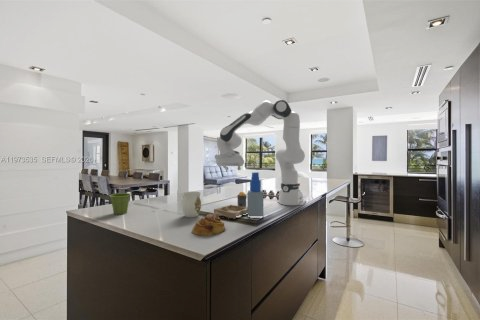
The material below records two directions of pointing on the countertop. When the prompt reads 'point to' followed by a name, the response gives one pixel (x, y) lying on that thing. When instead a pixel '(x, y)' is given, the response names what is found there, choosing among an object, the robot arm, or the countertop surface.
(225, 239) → the countertop surface
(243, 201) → the black shaker
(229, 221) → the countertop surface
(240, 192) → the orange ball
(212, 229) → the pastry
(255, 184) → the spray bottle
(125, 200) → the plant pot
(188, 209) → the pitcher
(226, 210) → the birch tray
